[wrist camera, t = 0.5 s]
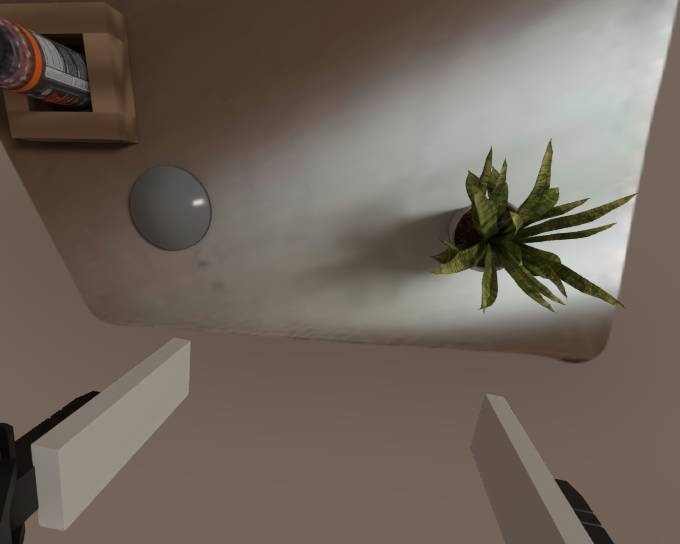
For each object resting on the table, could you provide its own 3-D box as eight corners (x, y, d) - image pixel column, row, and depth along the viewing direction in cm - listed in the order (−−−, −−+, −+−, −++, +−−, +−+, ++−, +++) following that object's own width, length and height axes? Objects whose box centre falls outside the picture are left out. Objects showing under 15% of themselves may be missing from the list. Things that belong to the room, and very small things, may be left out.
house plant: (576, 196, 37) (727, 201, 21) (510, 307, 40) (597, 382, 25) (455, 143, 37) (515, 108, 21) (399, 258, 40) (416, 302, 24)
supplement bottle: (62, 113, 40) (-55, 84, 29) (48, 57, 39) (-79, 4, 28) (108, 107, 40) (7, 75, 29) (96, 50, 38) (-16, -7, 27)
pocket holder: (16, 18, 38) (-13, 4, 35) (125, 16, 37) (104, 1, 34) (37, 141, 41) (11, 137, 38) (138, 143, 40) (119, 139, 37)
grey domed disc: (128, 165, 41) (125, 164, 40) (208, 167, 40) (206, 166, 39) (137, 247, 43) (134, 248, 43) (213, 251, 42) (211, 251, 42)
